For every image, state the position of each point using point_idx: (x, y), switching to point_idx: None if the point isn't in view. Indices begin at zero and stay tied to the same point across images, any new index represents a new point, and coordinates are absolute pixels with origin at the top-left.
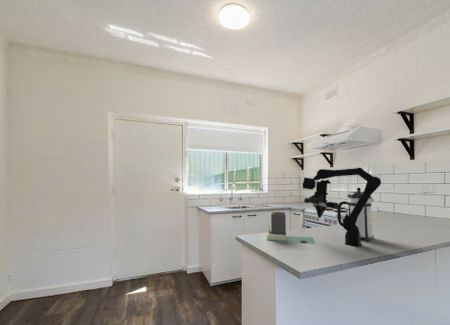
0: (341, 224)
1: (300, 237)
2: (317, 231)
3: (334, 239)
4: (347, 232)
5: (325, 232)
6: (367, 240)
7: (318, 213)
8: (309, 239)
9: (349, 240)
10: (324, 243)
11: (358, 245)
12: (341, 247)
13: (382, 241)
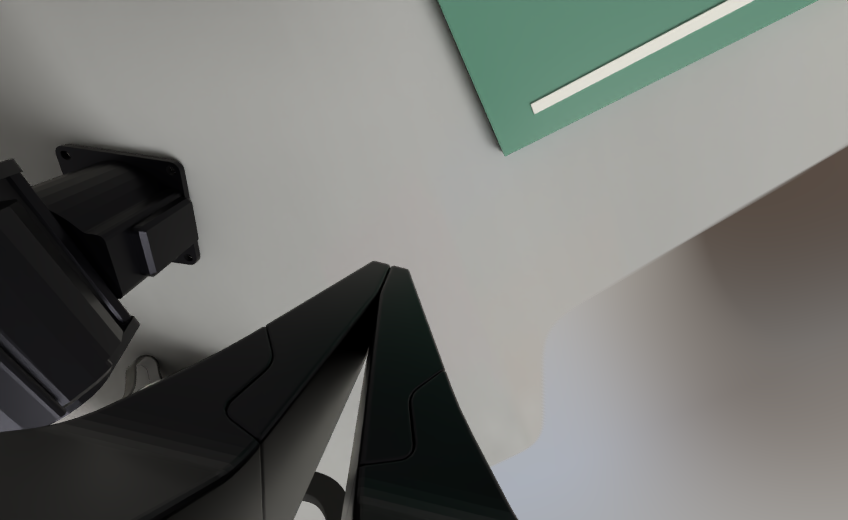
0: (328, 492)
1: (632, 31)
2: (529, 403)
3: (327, 261)
4: (80, 231)
5: (467, 408)
6: (137, 358)
7: (380, 316)
8: (503, 15)
9: (111, 177)
10: (327, 37)
11: (61, 167)
12: (127, 4)
13: (94, 401)
